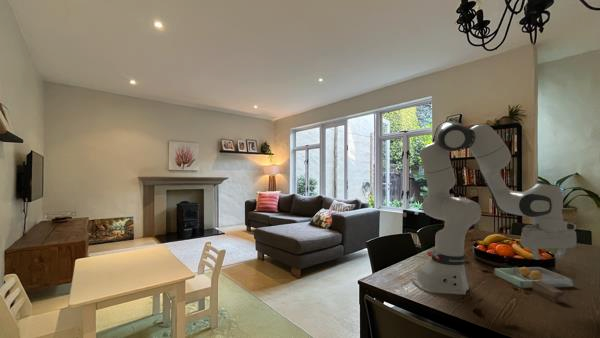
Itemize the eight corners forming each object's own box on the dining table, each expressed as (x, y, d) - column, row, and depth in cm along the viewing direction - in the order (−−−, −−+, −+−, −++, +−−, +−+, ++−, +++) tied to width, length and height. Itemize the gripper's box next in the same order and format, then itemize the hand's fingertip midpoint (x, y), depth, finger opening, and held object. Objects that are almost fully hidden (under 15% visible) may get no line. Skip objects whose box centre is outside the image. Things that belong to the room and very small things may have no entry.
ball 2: (536, 281, 115) (536, 272, 115) (527, 277, 119) (527, 269, 119) (544, 281, 115) (544, 272, 115) (536, 277, 119) (536, 269, 119)
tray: (521, 288, 111) (521, 281, 111) (494, 274, 125) (494, 268, 125) (538, 287, 111) (538, 280, 111) (509, 274, 126) (509, 268, 126)
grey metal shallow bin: (540, 287, 111) (540, 280, 111) (511, 274, 126) (511, 267, 126) (572, 286, 112) (572, 279, 112) (540, 273, 127) (540, 267, 127)
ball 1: (524, 277, 119) (524, 268, 119) (517, 274, 123) (517, 265, 123) (533, 277, 119) (533, 268, 119) (525, 273, 123) (525, 265, 123)
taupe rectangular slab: (554, 303, 98) (554, 292, 98) (532, 291, 108) (532, 280, 108) (564, 304, 98) (564, 292, 98) (541, 291, 108) (541, 281, 108)
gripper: (530, 226, 100) (530, 262, 100) (580, 225, 101) (580, 260, 101) (515, 223, 106) (516, 256, 106) (563, 221, 107) (563, 255, 107)
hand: (548, 258), depth 103 cm, fingers open, 8 cm apart
